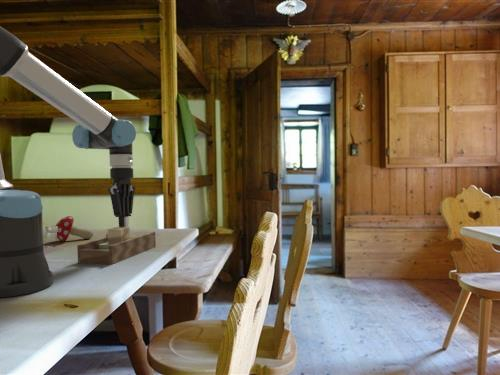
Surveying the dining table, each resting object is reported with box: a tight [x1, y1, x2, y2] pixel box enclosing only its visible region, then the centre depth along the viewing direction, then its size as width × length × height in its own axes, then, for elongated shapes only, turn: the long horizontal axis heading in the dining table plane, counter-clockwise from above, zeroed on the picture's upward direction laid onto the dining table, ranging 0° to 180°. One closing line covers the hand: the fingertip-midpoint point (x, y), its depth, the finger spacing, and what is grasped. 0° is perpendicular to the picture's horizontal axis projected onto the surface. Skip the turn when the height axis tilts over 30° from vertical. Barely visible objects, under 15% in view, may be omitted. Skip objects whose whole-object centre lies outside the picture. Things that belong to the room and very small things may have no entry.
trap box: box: [76, 231, 157, 265], centre depth 126 cm, size 27×12×6 cm, turn 166°
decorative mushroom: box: [55, 215, 94, 243], centre depth 156 cm, size 11×11×15 cm
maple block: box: [107, 226, 131, 244], centre depth 125 cm, size 5×5×5 cm
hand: (124, 235), depth 128 cm, fingers closed
